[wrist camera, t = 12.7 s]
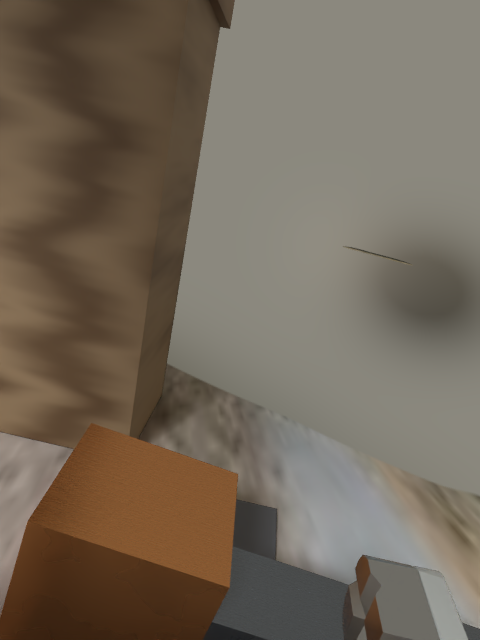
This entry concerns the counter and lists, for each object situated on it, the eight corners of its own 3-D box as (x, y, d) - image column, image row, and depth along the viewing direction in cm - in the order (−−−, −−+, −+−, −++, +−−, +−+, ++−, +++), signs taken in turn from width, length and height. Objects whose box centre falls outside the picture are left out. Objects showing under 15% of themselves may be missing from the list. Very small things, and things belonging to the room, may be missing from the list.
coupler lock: (563, 696, 14) (487, 561, 19) (27, 521, 13) (91, 422, 17) (461, 799, 16) (416, 653, 21) (-11, 657, 15) (55, 535, 19)
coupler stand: (-36, 429, 26) (-41, -132, 18) (43, 365, 35) (65, -36, 26) (131, 468, 26) (209, -83, 17) (169, 393, 35) (234, -2, 26)
